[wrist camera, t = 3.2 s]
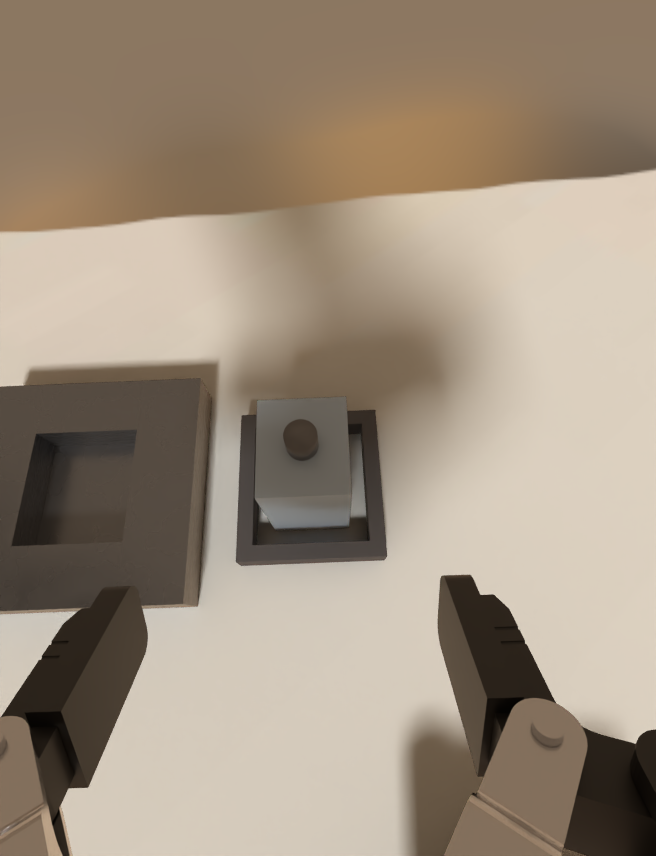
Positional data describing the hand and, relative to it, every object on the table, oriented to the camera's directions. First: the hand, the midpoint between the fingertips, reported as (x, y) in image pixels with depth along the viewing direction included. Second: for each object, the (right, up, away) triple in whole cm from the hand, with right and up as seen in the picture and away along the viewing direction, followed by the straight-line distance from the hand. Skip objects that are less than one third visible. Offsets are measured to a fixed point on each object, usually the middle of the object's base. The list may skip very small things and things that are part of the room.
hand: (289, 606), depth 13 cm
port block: (-12, +1, +14) cm, 19 cm away
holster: (0, +1, +14) cm, 14 cm away
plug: (0, +1, +14) cm, 14 cm away
